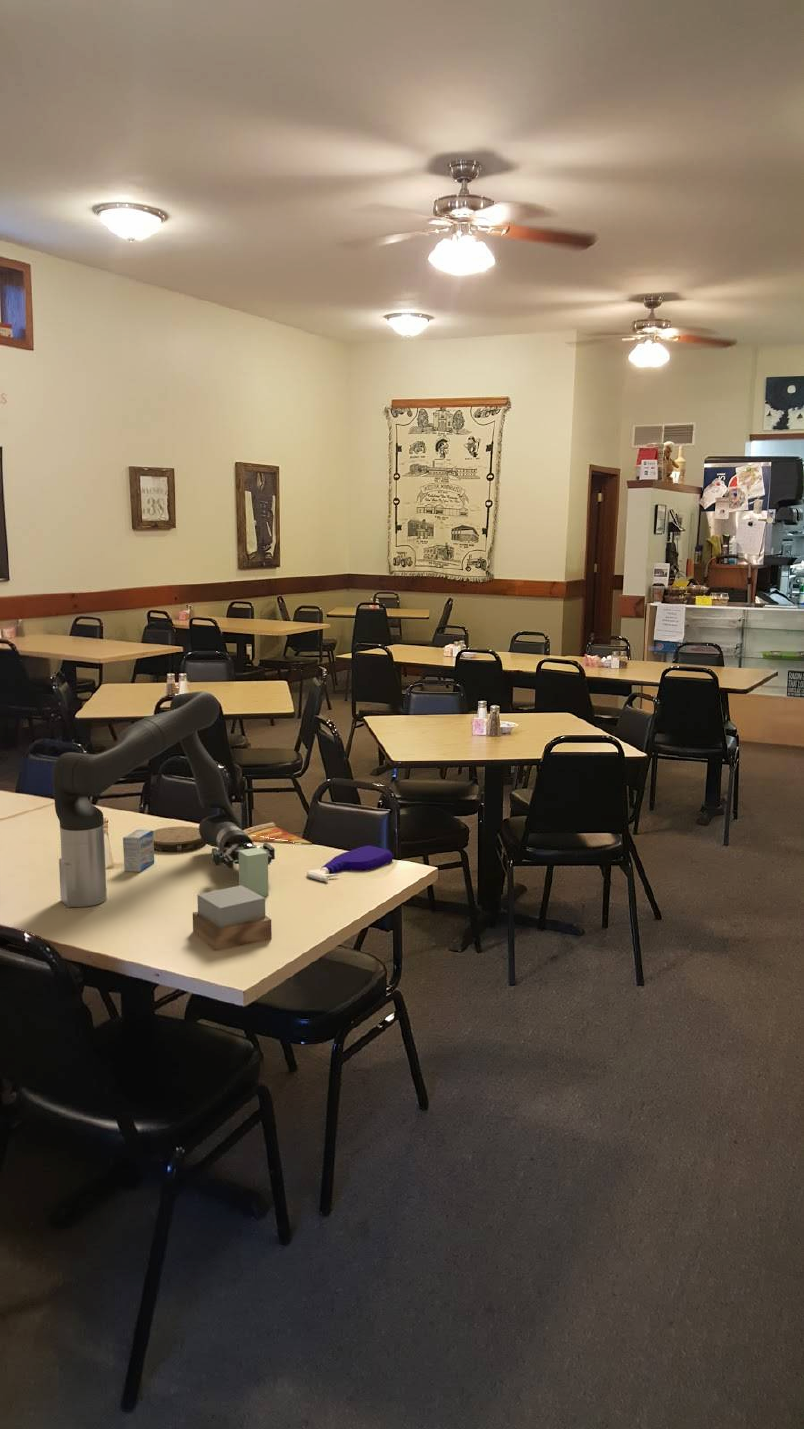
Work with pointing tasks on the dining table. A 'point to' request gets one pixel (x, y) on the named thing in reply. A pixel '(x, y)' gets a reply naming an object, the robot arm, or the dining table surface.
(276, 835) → the pizza slice
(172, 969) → the dining table surface
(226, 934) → the walnut base block
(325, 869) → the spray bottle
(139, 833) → the medicine box
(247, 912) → the slate grey block
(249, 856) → the sage pillar block
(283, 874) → the dining table surface
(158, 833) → the brown round disc
